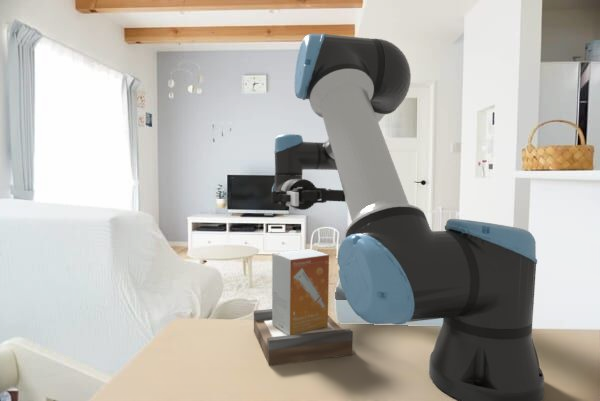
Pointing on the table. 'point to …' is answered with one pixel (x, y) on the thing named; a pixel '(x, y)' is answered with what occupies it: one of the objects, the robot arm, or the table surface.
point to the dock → (300, 341)
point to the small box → (300, 290)
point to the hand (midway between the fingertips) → (328, 198)
